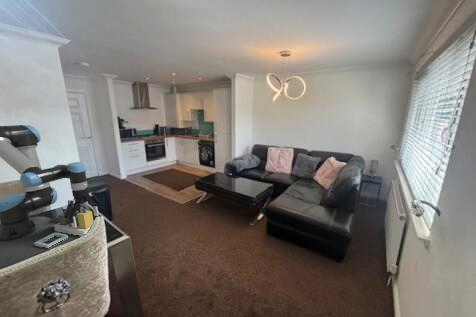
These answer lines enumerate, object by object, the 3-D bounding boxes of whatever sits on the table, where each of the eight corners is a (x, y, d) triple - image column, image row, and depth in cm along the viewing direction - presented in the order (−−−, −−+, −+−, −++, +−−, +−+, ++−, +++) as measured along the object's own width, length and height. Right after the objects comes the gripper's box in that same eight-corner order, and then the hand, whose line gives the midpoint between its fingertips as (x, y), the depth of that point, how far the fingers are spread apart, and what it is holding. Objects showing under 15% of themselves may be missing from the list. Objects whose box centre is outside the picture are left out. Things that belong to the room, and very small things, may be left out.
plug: (80, 231, 119) (76, 210, 116) (88, 227, 124) (84, 207, 121) (86, 233, 118) (83, 211, 115) (94, 228, 123) (91, 208, 120)
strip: (55, 231, 121) (51, 213, 119) (72, 222, 131) (68, 206, 128) (84, 237, 116) (81, 219, 113) (100, 228, 125) (97, 211, 122)
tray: (35, 245, 108) (34, 242, 107) (55, 235, 117) (54, 232, 117) (48, 248, 105) (47, 245, 105) (68, 237, 115) (67, 234, 114)
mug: (66, 224, 129) (63, 210, 127) (63, 219, 135) (61, 206, 132) (88, 217, 138) (86, 204, 136) (85, 213, 144) (82, 200, 141)
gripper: (61, 197, 102) (68, 233, 107) (104, 182, 126) (108, 212, 130) (50, 196, 104) (58, 231, 109) (95, 181, 128) (99, 210, 132)
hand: (86, 221), depth 120 cm, fingers open, 13 cm apart
